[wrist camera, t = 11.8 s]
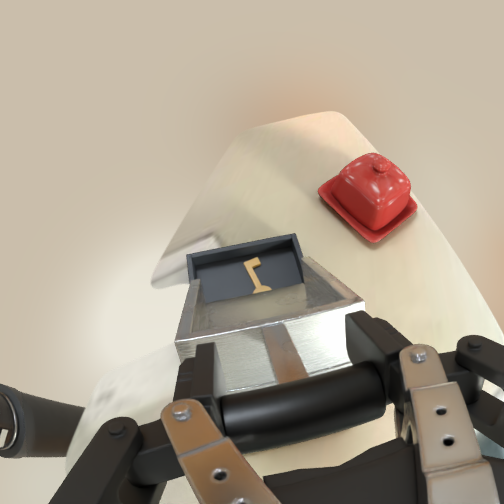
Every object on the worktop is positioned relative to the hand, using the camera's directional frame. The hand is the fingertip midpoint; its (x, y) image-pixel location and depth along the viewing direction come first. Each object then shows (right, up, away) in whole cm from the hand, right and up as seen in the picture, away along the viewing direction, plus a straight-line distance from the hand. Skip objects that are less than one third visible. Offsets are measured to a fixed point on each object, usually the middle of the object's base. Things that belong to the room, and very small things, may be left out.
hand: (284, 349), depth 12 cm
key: (-1, 0, +25) cm, 25 cm away
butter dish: (+15, +11, +31) cm, 36 cm away
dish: (0, -3, +8) cm, 8 cm away
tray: (-2, 0, +25) cm, 25 cm away
